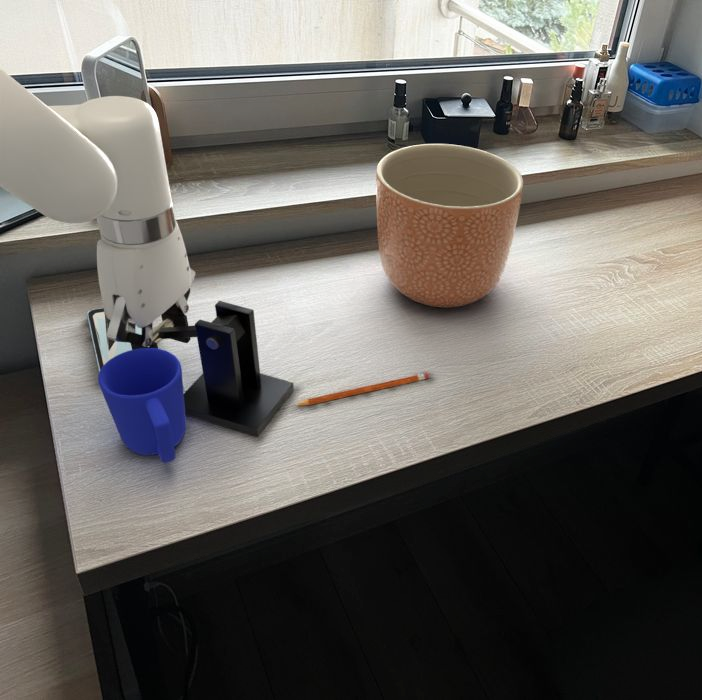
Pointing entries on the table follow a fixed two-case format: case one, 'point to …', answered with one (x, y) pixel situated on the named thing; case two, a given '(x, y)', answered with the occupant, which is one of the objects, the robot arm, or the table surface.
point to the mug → (146, 400)
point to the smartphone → (101, 344)
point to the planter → (445, 221)
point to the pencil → (364, 389)
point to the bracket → (233, 377)
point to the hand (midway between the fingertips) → (163, 351)
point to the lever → (193, 328)
